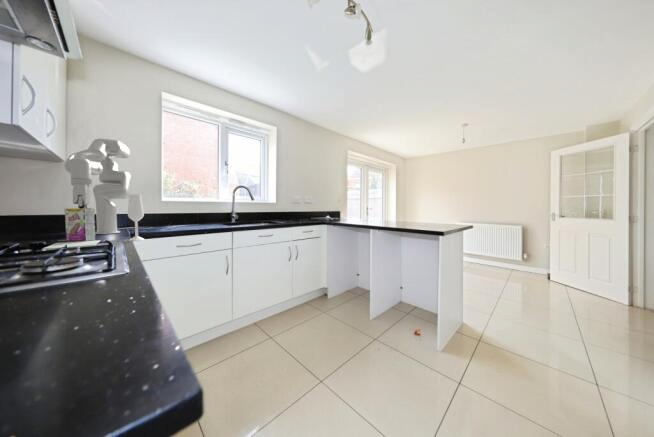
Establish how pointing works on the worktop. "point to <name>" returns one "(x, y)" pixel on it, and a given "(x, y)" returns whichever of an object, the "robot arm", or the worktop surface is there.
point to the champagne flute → (135, 212)
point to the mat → (73, 244)
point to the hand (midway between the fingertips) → (83, 217)
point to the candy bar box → (80, 224)
